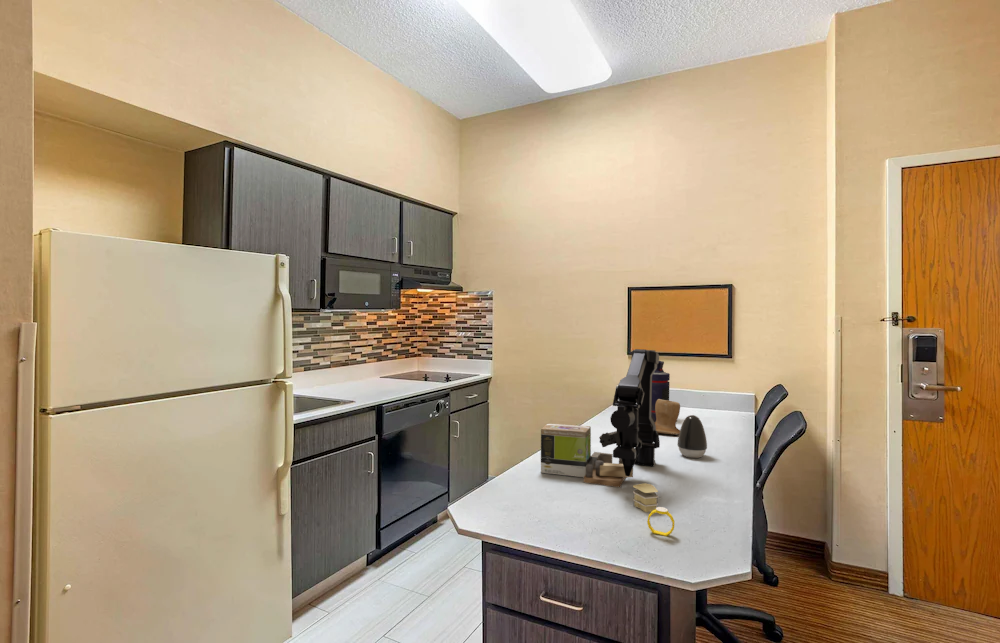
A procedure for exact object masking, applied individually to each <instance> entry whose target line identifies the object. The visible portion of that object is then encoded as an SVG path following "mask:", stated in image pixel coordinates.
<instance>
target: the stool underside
mask: <svg viewBox="0 0 1000 643" xmlns="http://www.w3.org/2000/svg"><path fill="white" fill-rule="evenodd" d="M618 464H623V462H622V459H621V458H618ZM625 478H626V477H616V476H597V475H596V470H594V469H593V465H590V464H588V465H586V475H585V476H584V477H583V483H587V484H593V485H594V484H595V485H601V486H608V487H613V488H621V487H622V484H623V482H624V480H625Z"/></svg>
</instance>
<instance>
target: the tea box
mask: <svg viewBox="0 0 1000 643" xmlns="http://www.w3.org/2000/svg"><path fill="white" fill-rule="evenodd" d="M591 429H592V428H591V426H590V425H576V424H575V425H573V424H564V423H563V424H562V423H547V424H545V425H544V426H543V427H542V428H540V473H541V474H550V475H557V476H558V475H559V476H560V475H561V476H566V477H567V476H569V477H578V478H584V476H585V475H586V465H588V464H590V459H591V456H592V451H591V449H592V447H591V446H592V443H591V442H592V440H591V438H592V437H591V435H592V433H591Z"/></svg>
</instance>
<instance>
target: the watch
mask: <svg viewBox="0 0 1000 643" xmlns="http://www.w3.org/2000/svg"><path fill="white" fill-rule="evenodd" d="M654 514H659V515H665V516H668V518H670V521H671V523H672V527H671V529H670V530H668V531H667V532H664V531H660V530H656V529H654V527H653V526H652V524H651V521H650V520H651V516H652V515H654ZM646 522H647V526H648V529H649V530H650V532H652V534H655V535H660V536H664V537H667V536H670V535H671V534H672V533H673V531H674V530H675V518H674V516H673V515H672V513H670V512H669V510H668V508H666V507H663V506H658V507H657V506H656V509H655V510H653V511H650V512H649V514H648V516H647V520H646Z"/></svg>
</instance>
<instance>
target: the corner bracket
mask: <svg viewBox="0 0 1000 643" xmlns="http://www.w3.org/2000/svg"><path fill="white" fill-rule="evenodd" d="M613 458H614V457H613V453H607V452H599V451H594V452H593V453H591V459H590V465H593V469H594V470H596V461H597V460H600V461H603V462H604V463H613Z"/></svg>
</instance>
